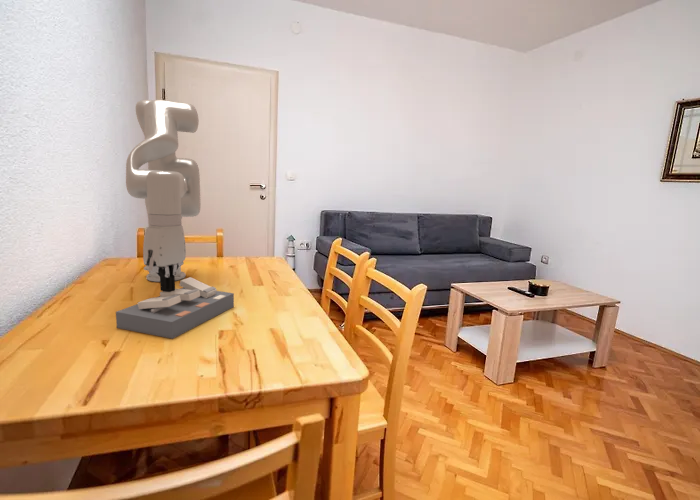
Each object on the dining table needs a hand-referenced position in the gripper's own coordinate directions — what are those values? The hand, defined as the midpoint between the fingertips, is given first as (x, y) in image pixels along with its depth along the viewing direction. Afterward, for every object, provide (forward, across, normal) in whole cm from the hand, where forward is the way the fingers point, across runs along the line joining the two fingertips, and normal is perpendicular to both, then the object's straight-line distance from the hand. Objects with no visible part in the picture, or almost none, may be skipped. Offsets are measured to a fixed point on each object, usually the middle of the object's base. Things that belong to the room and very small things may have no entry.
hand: (167, 290), depth 96 cm
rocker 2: (+1, 0, +4) cm, 4 cm away
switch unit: (+7, 0, +4) cm, 8 cm away
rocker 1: (+1, +7, +4) cm, 8 cm away
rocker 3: (+1, -7, +4) cm, 8 cm away
